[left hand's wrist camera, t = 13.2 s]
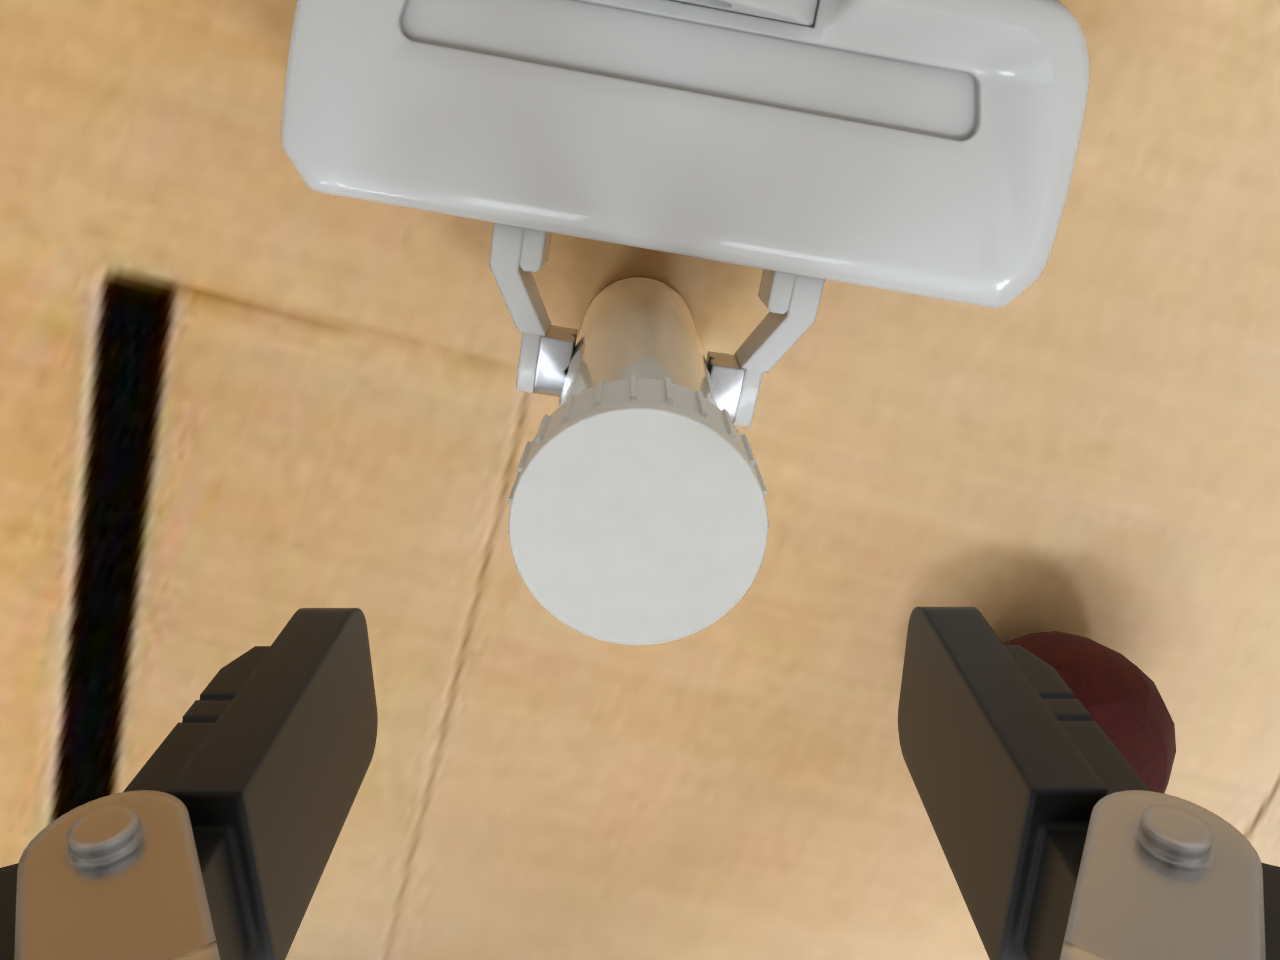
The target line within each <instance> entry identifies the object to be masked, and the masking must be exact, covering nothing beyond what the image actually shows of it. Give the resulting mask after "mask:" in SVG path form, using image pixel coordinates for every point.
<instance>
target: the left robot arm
mask: <svg viewBox="0 0 1280 960" xmlns="http://www.w3.org/2000/svg"><path fill="white" fill-rule="evenodd" d="M898 730H899V739H900V745H901V750H902V754H903V757H904V760H905V762H906V765H907V767H908V769H909V772H910V774H911V776H912V779H913V781H914V783H915V786H916V788H917V790H918V793H919V795H920V797H921V800H922V802H923V804H924V807H925V809H926V811H927V814H928V816H929V818H930V821H931V823H932V825H933V828H934V830H935V832H936V835H937V837H938V840H939V842H940V844H941V847H942V849H943V851H944V854H945V856H946V858H947V861H948V863H949V865H950V868H951V870H952V872H953V875H954V877H955V879H956V882H957V884H958V886H959V889H960V891H961V893H962V896H963V898H964V900H965V903H966V905H967V907H968V910H969V912H970V914H971V917H972V919H973V921H974V924H975V926H976V928H977V931H978V933H979V935H980V938H981V940H982V942H983V945H984V947H985V949H986V952H987V954H988V956H989V959H990V960H1280V867H1277V866H1272V865H1268V864H1265V863H1261V861H1260V858H1259V856H1258V854H1257V852H1256V850H1255V849H1254V848H1253V846H1252V845H1251V843H1250V842H1249V841H1248V840H1247V839H1246V838H1245V837H1244V836H1243V835H1242V834H1241V833H1240V832H1239V831H1238V830H1237V829H1236V828H1234V827H1233V826H1232V825H1231V824H1229V823H1228V822H1227V821H1225V820H1224V819H1222V818H1221V817H1219V816H1218V815H1216V814H1214V813H1212V812H1210V811H1209V810H1207V809H1205V808H1203V807H1201V806H1198V805H1196V804H1194V803H1192V802H1189V801H1186V800H1184V799H1181V798H1178V797H1175V796H1171V795H1167V794H1163V793H1158V792H1152V791H1150V790H1149V788H1148V787H1147V786H1146V785H1145V783H1144V782H1143V781H1142V779H1141V778H1140V777H1139V776H1138V774H1137V773H1136V772H1135V771H1134V769H1133V768H1132V767H1131V765H1130V764H1129V763H1128V762H1127V760H1126V759H1125V758H1124V757H1123V755H1122V754H1121V753H1120V751H1119V750H1118V749H1117V748H1116V746H1115V745H1114V744H1113V743H1112V741H1111V740H1110V739H1109V737H1108V736H1107V735H1106V734H1105V732H1104V731H1103V730H1102V729H1101V727H1100V726H1099V725H1098V723H1097V722H1096V721H1092V720H1091V715H1090V713H1089V712H1088V711H1087V709H1086V708H1085V707H1084V706H1083V704H1082V703H1081V702H1080V701H1079V699H1074V693H1073V692H1072V690H1071V689H1070V688H1069V687H1068V685H1067V684H1066V683H1065V682H1064V680H1063V679H1062V678H1061V676H1060V675H1059V674H1058V673H1057V671H1056V670H1055V669H1054V668H1053V667H1052V666H1050V665H1049V664H1047V663H1046V662H1044V661H1043V660H1041V659H1040V658H1038V657H1037V656H1035V655H1034V654H1032V653H1031V652H1029V651H1028V650H1026V649H1025V648H1023V647H1022V646H1020V645H1003V643H1002V642H1001V641H1000V639H999V638H998V636H997V635H996V634H995V632H994V631H993V629H992V628H991V627H990V625H989V624H988V623H987V621H986V620H985V618H984V617H983V616H982V614H981V613H980V612H979V610H978V609H976V608H975V607H916V608H915V609H914V610H913V611H912V613H911V616H910V620H909V625H908V633H907V641H906V650H905V658H904V667H903V675H902V683H901V692H900V700H899V709H898ZM376 737H377V706H376V697H375V689H374V681H373V673H372V664H371V656H370V648H369V640H368V631H367V624H366V620H365V617H364V614H363V612H362V611H361V610H360V609H358V608H301V609H299V610H297V612H296V613H295V614H294V615H293V617H292V618H291V619H290V621H289V622H288V623H287V625H286V626H285V628H284V629H283V630H282V632H281V633H280V634H279V636H278V637H277V639H276V640H275V641H274V643H273V644H272V645H271V646H255V647H254V648H252V649H251V650H249V651H248V652H246V653H245V654H243V655H241V656H240V657H238V658H237V659H235V660H234V661H232V662H231V663H229V664H228V665H226V666H225V667H223V668H222V669H221V670H220V671H219V672H218V673H217V675H216V676H215V677H214V678H213V680H212V681H211V682H210V683H209V685H208V686H207V687H206V688H205V690H204V691H203V692H202V693H201V695H200V700H196V701H195V702H194V704H193V705H192V706H191V707H190V709H189V710H188V711H187V712H186V714H185V715H184V716H183V721H182V723H178V724H177V725H176V726H175V727H174V729H173V730H172V731H171V732H170V734H169V735H168V736H167V738H166V739H165V740H164V741H163V743H162V744H161V745H160V746H159V748H158V749H157V750H156V751H155V753H154V754H153V755H152V756H151V758H150V759H149V760H148V761H147V763H146V764H145V765H144V766H143V768H142V769H141V770H140V771H139V773H138V774H137V775H136V777H135V778H134V779H133V780H132V782H131V783H130V784H129V785H128V787H127V788H126V789H125V790H124V792H122V793H117V794H113V795H109V796H105V797H102V798H99V799H96V800H94V801H91V802H88V803H86V804H84V805H82V806H79V807H77V808H75V809H73V810H71V811H70V812H68V813H66V814H64V815H62V816H61V817H59V818H58V819H56V820H55V821H53V822H52V823H51V824H49V825H48V826H47V827H46V828H44V829H43V830H42V831H41V832H40V833H39V834H38V835H37V836H36V837H35V838H34V839H33V840H32V841H31V842H30V843H29V845H28V846H27V848H26V849H25V850H24V852H23V854H22V856H21V858H20V861H19V863H18V864H14V865H10V866H6V867H2V868H0V960H285V958H286V956H287V954H288V951H289V949H290V947H291V944H292V942H293V940H294V938H295V935H296V933H297V931H298V928H299V926H300V924H301V921H302V919H303V917H304V915H305V912H306V910H307V908H308V905H309V903H310V901H311V898H312V896H313V894H314V892H315V889H316V887H317V885H318V882H319V880H320V878H321V875H322V873H323V871H324V868H325V866H326V864H327V862H328V859H329V857H330V855H331V852H332V850H333V848H334V845H335V843H336V841H337V839H338V836H339V834H340V832H341V829H342V827H343V825H344V822H345V820H346V818H347V815H348V813H349V811H350V809H351V806H352V804H353V802H354V799H355V797H356V795H357V792H358V790H359V788H360V786H361V783H362V781H363V779H364V776H365V774H366V772H367V769H368V767H369V765H370V762H371V760H372V757H373V753H374V749H375V744H376Z"/></svg>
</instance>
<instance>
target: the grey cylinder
mask: <svg viewBox="0 0 1280 960" xmlns="http://www.w3.org/2000/svg"><path fill="white" fill-rule="evenodd" d="M631 375H637V378H649V379H656V380H663V381H665V378H670V379H671V383H674V384H678V385H681V386H683V387H685V388H688V389H690V390H692V391H695V392H696V391H697V389H698V390H700V391H702V393H703V397H705V398H706V399H708V400H709V401H710V402H712V403H713V404H714V405H715V406H717V407H718V408H719V409H720V410H721V408H720V405H719V402H718V399H717V395H716V392H715V389H714V386H713V383H712V379H711V376H710V373H709V370H708V366H707V363H706V360H705V357H704V353H703V350H702V347H701V344H700V341H699V337H698V334H697V331H696V328H695V324H694V321H693V318H692V315H691V312H690V310H689V308H688V306H687V304H686V303H685V301H684V300H683V298H682V297H681V296H680V295H679V294H678V293H677V292H676V291H675V290H673V289H672V288H671V287H669V286H668V285H666V284H664V283H662V282H660V281H658V280H654V279H651V278H645V277H632V278H626V279H622V280H619V281H617V282H614V283H612V284H611V285H609V286H607V287H606V288H604V289H603V290H602V291H601V292H600V293H599V294H598V295H597V296H596V297H595V298H594V299H593V301H592V302H591V304H590V305H589V307H588V309H587V312H586V314H585V317H584V320H583V323H582V326H581V330H580V333H579V336H578V339H577V343H576V346H575V349H574V352H573V356H572V359H571V362H570V365H569V369H568V372H567V375H566V378H565V381H564V385H563V388H562V391H561V394H560V398H559V401H558V404H557V407H556V410H557V409H558V408H559V407H560V406H561V405H562V404H564V403H565V402H566V399H567V396H568V395H570V394H573V396H575V395H577V394H579V393H581V392H583V391H584V390H586V389H589V388H591V387H594V386H596V385H597V382H598V381H600V380H603V382H604V383H606V382H610V381H614V380H620V379H629V378H631Z"/></svg>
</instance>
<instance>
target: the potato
mask: <svg viewBox="0 0 1280 960" xmlns="http://www.w3.org/2000/svg"><path fill="white" fill-rule="evenodd" d="M1003 645H1020V646H1022V647H1023V648H1025V649H1026V650H1028V651H1029V652H1031V653H1032V654H1034V655H1035V656H1037V657H1038V658H1040V659H1041V660H1043V661H1044V662H1046V663H1047V664H1049V665H1050V666H1052V667H1053V668H1054V669H1055V670H1056V671H1057V673H1058V674H1059V675H1060V676H1061V678H1062V679H1063V680H1064V682H1065V683H1066V684H1067V685H1068V687H1069V688H1070V689H1071V690H1072V692H1073V693H1074V699H1079V701H1080V702H1081V703H1082V704H1083V706H1084V707H1085V708H1086V709H1087V711H1088V712H1089V713H1090V715H1091V720H1092V721H1096V722H1097V723H1098V725H1099V726H1100V727H1101V729H1102V730H1103V731H1104V732H1105V734H1106V735H1107V736H1108V737H1109V739H1110V740H1111V741H1112V743H1113V744H1114V745H1115V746H1116V748H1117V749H1118V750H1119V751H1120V753H1121V754H1122V755H1123V757H1124V758H1125V759H1126V760H1127V762H1128V763H1129V764H1130V765H1131V767H1132V768H1133V769H1134V771H1135V772H1136V773H1137V774H1138V776H1139V777H1140V778H1141V779H1142V781H1143V782H1144V783H1145V785H1146V786H1147V787H1148V788H1149V790H1150V791H1152V792H1158V793H1163V794H1164V793H1165V790H1166V788H1167V785H1168V782H1169V778H1170V774H1171V769H1172V765H1173V761H1174V757H1175V753H1176V743H1175V728H1174V723H1173V721H1172V718H1171V716H1170V714H1169V712H1168V710H1167V708H1166V705H1165V703H1164V701H1163V699H1162V697H1161V696H1160V694H1159V692H1158V690H1157V688H1156V686H1155V684H1154V682H1153V681H1152V680H1151V679H1150V678H1149V677H1148V676H1147V675H1145V674H1144V673H1143V672H1142V671H1141V670H1140V669H1139V668H1138V667H1137V666H1136V665H1134V664H1133V663H1132V662H1130V661H1129V660H1128V659H1127V658H1125V657H1124V656H1123V655H1122V654H1120V653H1118V652H1116V651H1114V650H1112V649H1109V648H1107V647H1105V646H1103V645H1101V644H1099V643H1097V642H1095V641H1093V640H1090V639H1088V638H1085V637H1081V636H1077V635H1072V634H1066V633H1061V632H1056V631H1053V632H1041V633H1032V634H1029V635H1026V636H1023V637H1020V638H1018V639H1015V640H1012V641H1009V642H1007V643H1005V644H1003Z"/></svg>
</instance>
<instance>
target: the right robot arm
mask: <svg viewBox="0 0 1280 960" xmlns="http://www.w3.org/2000/svg"><path fill="white" fill-rule="evenodd" d="M1088 88H1089V55H1088V48H1087V43H1086V39H1085V36H1084V33H1083V31H1082V29H1081V27H1080V24H1079V22H1078V21H1077V19H1076V18H1075V16H1074V15H1073V14H1072V12H1071V11H1070V10H1069V9H1068V8H1067V7H1066V6H1065V5H1064V4H1062V3H1061V2H1060V1H1058V0H297V3H296V8H295V14H294V20H293V26H292V32H291V38H290V45H289V52H288V60H287V68H286V77H285V86H284V97H283V109H282V124H281V140H282V145H283V149H284V151H285V153H286V155H287V156H288V158H289V160H290V161H291V163H292V164H293V166H294V167H295V169H296V170H297V172H298V174H299V175H300V177H301V178H302V180H303V181H304V182H305V184H306V185H307V187H309V188H310V189H312V190H313V191H316V192H320V193H325V194H330V195H336V196H342V197H348V198H354V199H359V200H365V201H371V202H377V203H383V204H388V205H394V206H400V207H406V208H412V209H418V210H423V211H429V212H435V213H441V214H447V215H453V216H458V217H464V218H470V219H476V220H482V221H487V222H493V223H494V228H493V238H492V247H491V257H490V268H491V270H492V272H493V275H494V277H495V279H496V282H497V284H498V286H499V288H500V291H501V293H502V295H503V298H504V300H505V302H506V305H507V307H508V309H509V312H510V314H511V316H512V318H513V321H514V323H515V325H516V328H517V330H518V332H522V333H523V334H522V342H521V351H520V359H519V367H518V375H517V390H518V391H523V392H527V393H532V394H533V393H536V394H543V395H550V396H556V397H560V394H561V391H562V388H563V385H564V381H565V378H566V375H567V372H568V369H569V365H570V362H571V359H572V356H573V352H574V349H575V346H576V338H577V331H578V330H576V329H571V328H565V327H560V326H555V325H551V322H550V319H549V317H548V314H547V311H546V309H545V306H544V304H543V301H542V299H541V296H540V293H539V291H538V288H537V286H536V283H535V281H534V278H533V275H532V273H531V272H537V271H539V270H540V269H541V268H542V266H543V265H544V264H545V263H546V262H547V260H548V254H549V247H550V240H551V233H557V234H563V235H569V236H575V237H581V238H586V239H592V240H598V241H604V242H610V243H616V244H621V245H627V246H633V247H639V248H645V249H651V250H656V251H662V252H668V253H674V254H680V255H686V256H691V257H697V258H703V259H709V260H715V261H720V262H726V263H732V264H738V265H744V266H750V267H755V268H761V269H763V274H762V279H761V284H760V289H759V294H758V296H759V298H760V299H761V301H762V302H763V303H764V304H765V306H766V307H767V308H768V309H769V311H770V312H769V313H768V314H767V316H766V317H765V318H764V319H763V320H762V322H761V323H760V324H759V325H758V326H757V327H756V329H755V330H754V331H753V332H752V333H751V335H750V336H749V337H748V338H747V339H746V341H745V342H744V343H743V344H742V345H741V346H740V348H739V349H738V350H737V351H736V352H735V355H730V354H723V353H716V352H709V351H708V354H707V359H706V363H707V366H708V370H709V373H710V376H711V379H712V383H713V386H714V389H715V392H716V395H717V399H718V402H719V405H720V408H721V411H722V410H723V409H726V410H727V411H728V413H729V416H730V419H731V422H732V423H733V424H734V426H739V427H745V428H748V427H749V426H750V424H751V421H752V418H753V414H754V409H755V405H756V400H757V396H758V391H759V387H760V382H761V378H762V373H763V372H766V373H767V372H768V371H769V370H770V369H771V368H772V367H773V366H774V365H775V364H776V362H777V361H778V360H779V359H780V358H781V357H782V356H783V355H784V354H785V353H786V352H787V351H788V349H789V348H790V347H791V346H792V345H793V344H794V343H795V342H796V341H797V340H798V339H799V338H800V336H801V335H802V334H803V333H804V332H805V331H806V330H807V329H808V328H809V327H810V326H811V325H812V323H813V322H814V321H815V318H816V314H817V310H818V306H819V301H820V297H821V293H822V289H823V285H824V281H825V280H831V281H837V282H843V283H849V284H854V285H860V286H866V287H872V288H878V289H884V290H889V291H895V292H901V293H907V294H913V295H918V296H924V297H930V298H936V299H942V300H948V301H953V302H959V303H965V304H971V305H977V306H983V307H989V308H1001V307H1004V306H1006V305H1007V304H1008V303H1010V302H1011V301H1013V300H1014V299H1015V298H1016V297H1018V296H1019V295H1020V294H1021V293H1022V292H1023V291H1025V290H1026V289H1027V288H1028V287H1029V286H1030V285H1032V284H1033V283H1034V282H1035V281H1036V280H1037V279H1038V278H1039V277H1040V275H1041V274H1042V272H1043V270H1044V268H1045V266H1046V263H1047V261H1048V258H1049V255H1050V253H1051V250H1052V247H1053V244H1054V240H1055V237H1056V234H1057V231H1058V227H1059V224H1060V220H1061V217H1062V213H1063V209H1064V206H1065V202H1066V198H1067V194H1068V190H1069V186H1070V182H1071V178H1072V174H1073V169H1074V165H1075V160H1076V156H1077V151H1078V147H1079V142H1080V136H1081V131H1082V126H1083V120H1084V115H1085V109H1086V103H1087V97H1088Z"/></svg>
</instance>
